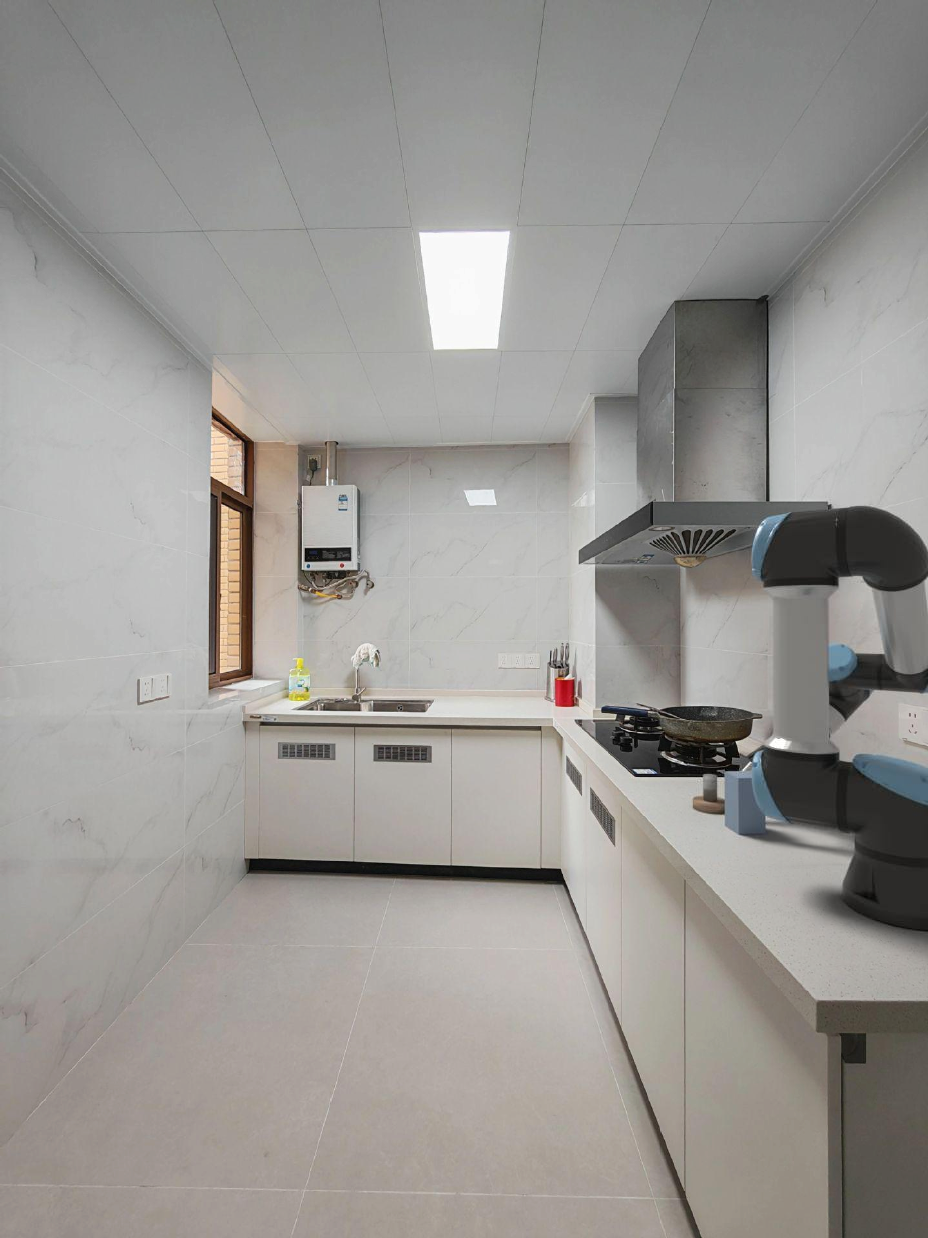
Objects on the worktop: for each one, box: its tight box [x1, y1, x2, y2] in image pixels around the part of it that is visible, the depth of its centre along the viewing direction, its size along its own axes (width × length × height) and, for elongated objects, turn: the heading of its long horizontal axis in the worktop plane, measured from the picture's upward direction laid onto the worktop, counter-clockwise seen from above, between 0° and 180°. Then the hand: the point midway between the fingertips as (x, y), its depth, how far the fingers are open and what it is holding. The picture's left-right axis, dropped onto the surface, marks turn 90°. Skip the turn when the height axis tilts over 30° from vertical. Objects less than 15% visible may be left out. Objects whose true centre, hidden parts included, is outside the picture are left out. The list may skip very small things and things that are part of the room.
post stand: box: [692, 773, 725, 815], centre depth 151 cm, size 8×8×8 cm
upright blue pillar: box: [723, 770, 767, 835], centre depth 136 cm, size 6×6×12 cm
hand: (751, 794), depth 137 cm, fingers open, 13 cm apart
